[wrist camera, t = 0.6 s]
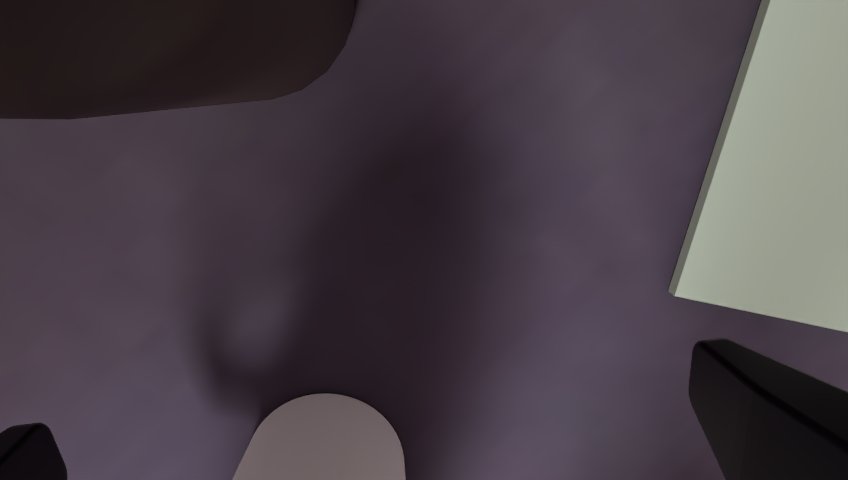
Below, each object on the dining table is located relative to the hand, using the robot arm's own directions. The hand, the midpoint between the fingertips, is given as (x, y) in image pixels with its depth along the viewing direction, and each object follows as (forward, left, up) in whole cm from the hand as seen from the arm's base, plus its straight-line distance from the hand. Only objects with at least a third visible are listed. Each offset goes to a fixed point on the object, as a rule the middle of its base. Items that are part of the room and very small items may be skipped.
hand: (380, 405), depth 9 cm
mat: (+5, -17, -15) cm, 23 cm away
